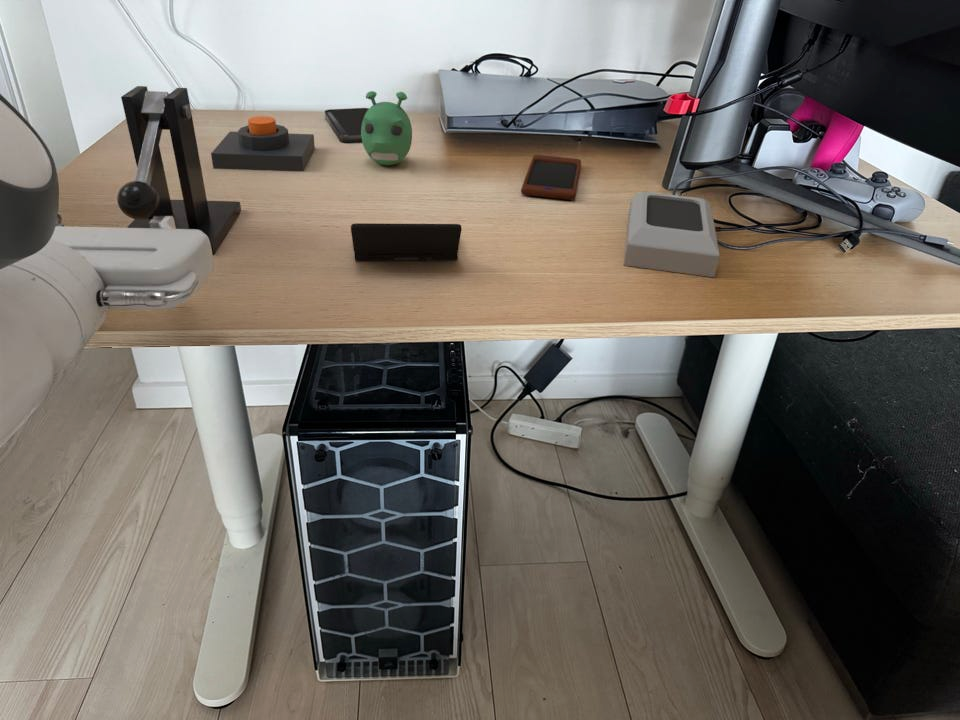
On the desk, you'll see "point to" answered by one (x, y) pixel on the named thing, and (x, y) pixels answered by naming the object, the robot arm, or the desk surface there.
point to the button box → (264, 151)
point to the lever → (146, 161)
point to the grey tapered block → (671, 234)
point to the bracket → (179, 170)
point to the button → (262, 125)
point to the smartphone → (552, 177)
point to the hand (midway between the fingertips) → (110, 222)
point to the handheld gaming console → (405, 242)
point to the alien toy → (386, 131)
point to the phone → (346, 123)
